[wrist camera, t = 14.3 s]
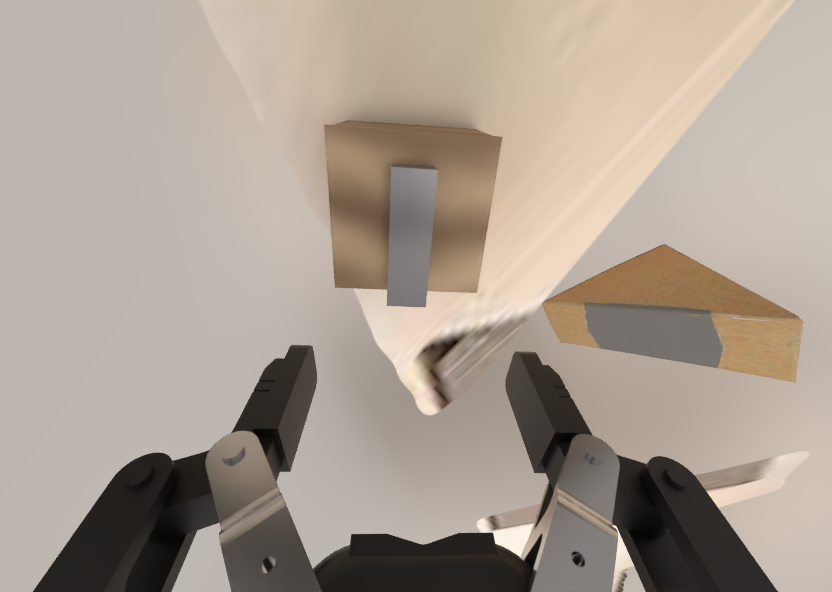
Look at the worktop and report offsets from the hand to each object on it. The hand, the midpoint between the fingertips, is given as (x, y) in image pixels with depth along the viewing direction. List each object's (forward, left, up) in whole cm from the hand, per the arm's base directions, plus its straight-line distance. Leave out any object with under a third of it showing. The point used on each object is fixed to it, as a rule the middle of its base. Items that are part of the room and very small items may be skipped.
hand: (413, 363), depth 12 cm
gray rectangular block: (0, 0, -15) cm, 15 cm away
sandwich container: (+11, +26, -24) cm, 37 cm away
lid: (-1, 0, -16) cm, 16 cm away
